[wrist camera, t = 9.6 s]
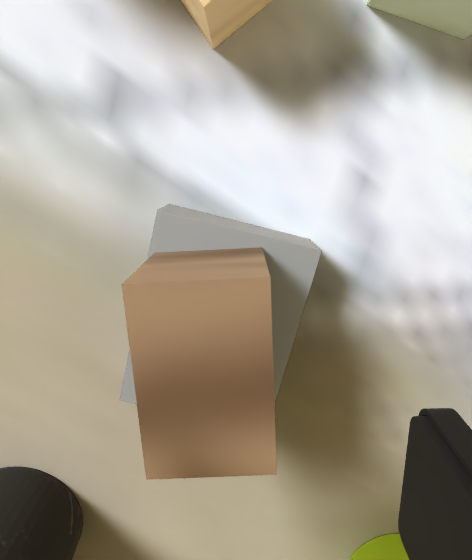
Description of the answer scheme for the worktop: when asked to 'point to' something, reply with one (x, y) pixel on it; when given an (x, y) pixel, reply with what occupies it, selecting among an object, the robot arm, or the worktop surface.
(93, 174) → the worktop surface
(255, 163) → the worktop surface
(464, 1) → the sage block
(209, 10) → the oak block
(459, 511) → the robot arm
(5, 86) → the worktop surface
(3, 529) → the travel mug
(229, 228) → the slate block
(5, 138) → the worktop surface
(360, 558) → the soap dispenser
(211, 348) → the walnut block
